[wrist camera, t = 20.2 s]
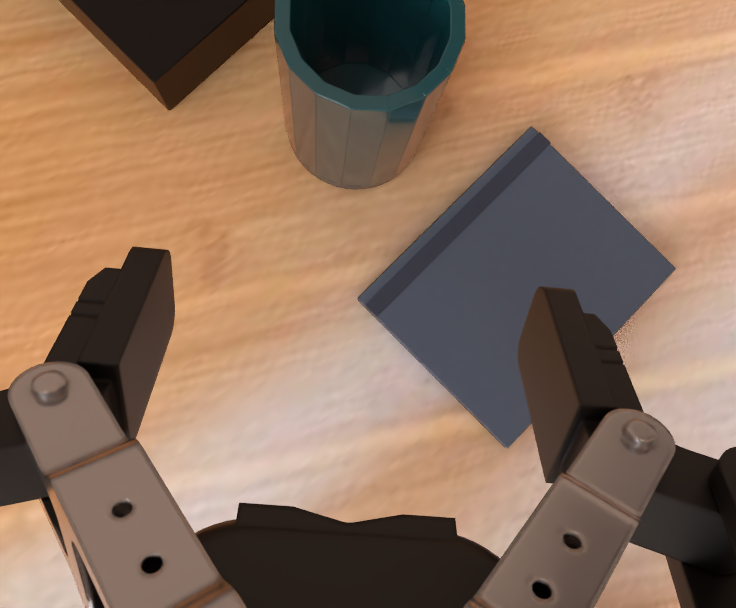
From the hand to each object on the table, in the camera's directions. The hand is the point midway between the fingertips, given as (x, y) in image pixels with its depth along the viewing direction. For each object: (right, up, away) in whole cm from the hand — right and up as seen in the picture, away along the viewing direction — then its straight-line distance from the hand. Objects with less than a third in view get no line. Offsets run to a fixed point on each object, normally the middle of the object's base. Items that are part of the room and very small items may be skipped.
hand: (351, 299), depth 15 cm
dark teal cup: (0, +8, +16) cm, 17 cm away
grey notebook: (+7, +1, +15) cm, 17 cm away
